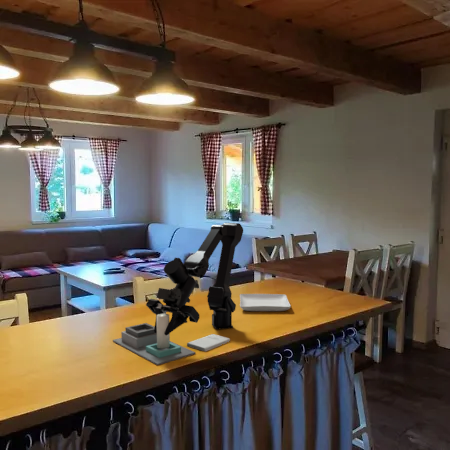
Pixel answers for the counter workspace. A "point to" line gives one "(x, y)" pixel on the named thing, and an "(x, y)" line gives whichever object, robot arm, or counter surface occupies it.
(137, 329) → the grey peg insertion board
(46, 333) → the counter surface
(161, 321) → the plug
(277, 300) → the salad plate
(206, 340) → the external hard drive
